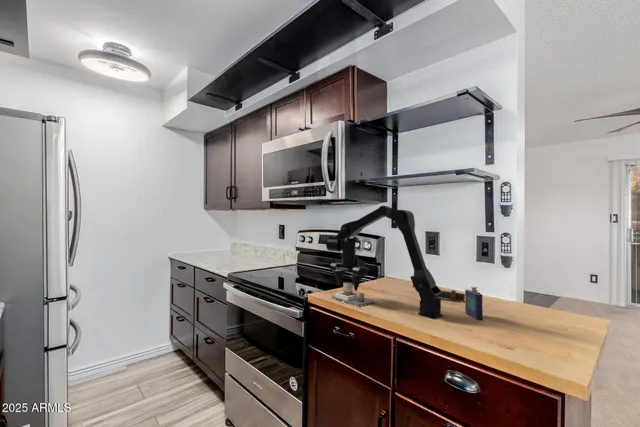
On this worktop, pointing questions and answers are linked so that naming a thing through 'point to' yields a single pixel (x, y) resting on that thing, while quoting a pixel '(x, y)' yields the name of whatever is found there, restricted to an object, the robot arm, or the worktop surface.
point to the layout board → (353, 298)
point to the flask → (473, 304)
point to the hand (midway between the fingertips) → (348, 288)
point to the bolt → (453, 295)
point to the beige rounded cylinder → (347, 288)
